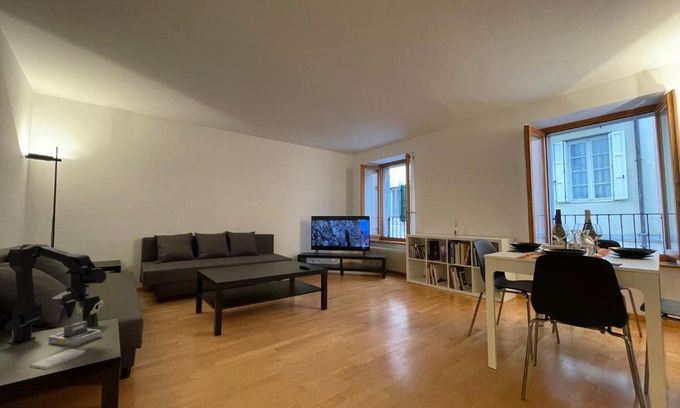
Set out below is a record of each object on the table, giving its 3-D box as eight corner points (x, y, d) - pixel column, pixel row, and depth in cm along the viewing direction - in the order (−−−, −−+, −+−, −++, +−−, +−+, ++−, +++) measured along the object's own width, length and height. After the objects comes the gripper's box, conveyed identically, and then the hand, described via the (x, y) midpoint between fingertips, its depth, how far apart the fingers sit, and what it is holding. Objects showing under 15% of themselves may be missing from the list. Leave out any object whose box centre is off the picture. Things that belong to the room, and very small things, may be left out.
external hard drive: (84, 354, 112) (46, 371, 100) (69, 352, 114) (29, 368, 102) (85, 350, 112) (46, 366, 100) (69, 348, 114) (30, 364, 102)
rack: (47, 343, 121) (48, 336, 121) (76, 333, 131) (76, 327, 132) (73, 347, 117) (74, 340, 117) (101, 336, 128) (101, 330, 128)
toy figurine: (79, 330, 134) (81, 303, 135) (72, 328, 137) (73, 301, 138) (106, 323, 144) (107, 297, 145) (98, 321, 147) (99, 296, 148)
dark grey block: (63, 340, 121) (64, 326, 122) (81, 334, 128) (82, 321, 129) (68, 341, 121) (69, 327, 121) (86, 334, 128) (87, 321, 128)
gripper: (40, 287, 120) (39, 323, 119) (73, 289, 116) (71, 327, 115) (70, 281, 131) (69, 314, 130) (101, 283, 127) (100, 317, 126)
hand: (76, 318), depth 125 cm, fingers open, 9 cm apart
